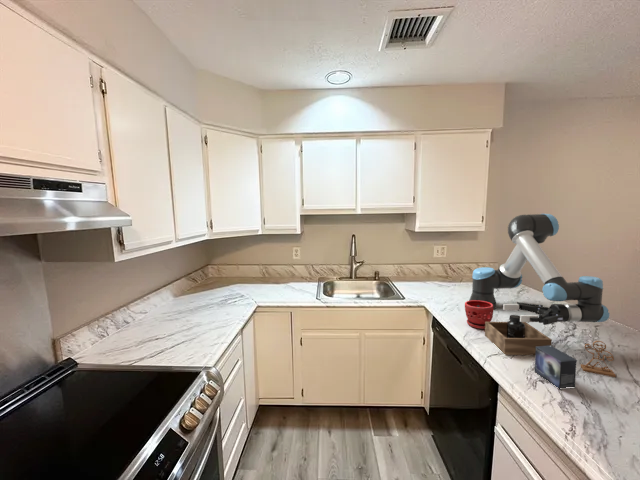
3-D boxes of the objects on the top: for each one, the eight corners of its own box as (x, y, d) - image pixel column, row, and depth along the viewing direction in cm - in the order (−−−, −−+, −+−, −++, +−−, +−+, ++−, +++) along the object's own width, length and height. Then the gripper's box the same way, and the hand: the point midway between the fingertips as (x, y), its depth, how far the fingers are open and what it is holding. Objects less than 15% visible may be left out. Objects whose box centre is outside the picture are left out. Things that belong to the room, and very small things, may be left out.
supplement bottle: (528, 346, 123) (528, 319, 122) (511, 345, 124) (511, 318, 124) (520, 339, 130) (520, 314, 129) (503, 339, 131) (504, 313, 130)
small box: (532, 372, 107) (534, 345, 106) (548, 370, 107) (550, 344, 106) (558, 390, 96) (560, 361, 95) (576, 388, 97) (578, 359, 96)
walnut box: (484, 335, 137) (485, 321, 137) (524, 336, 135) (525, 321, 135) (504, 354, 120) (505, 339, 119) (550, 355, 118) (551, 339, 117)
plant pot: (491, 322, 152) (491, 300, 151) (494, 332, 140) (495, 309, 139) (463, 319, 158) (464, 298, 156) (464, 328, 146) (465, 306, 145)
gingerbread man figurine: (611, 372, 105) (614, 341, 104) (616, 377, 102) (618, 346, 100) (580, 366, 110) (582, 336, 108) (583, 371, 106) (585, 340, 105)
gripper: (586, 333, 112) (528, 333, 114) (544, 310, 136) (497, 310, 139) (587, 315, 111) (529, 315, 113) (545, 295, 135) (497, 295, 138)
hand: (511, 312), depth 126 cm, fingers open, 13 cm apart
